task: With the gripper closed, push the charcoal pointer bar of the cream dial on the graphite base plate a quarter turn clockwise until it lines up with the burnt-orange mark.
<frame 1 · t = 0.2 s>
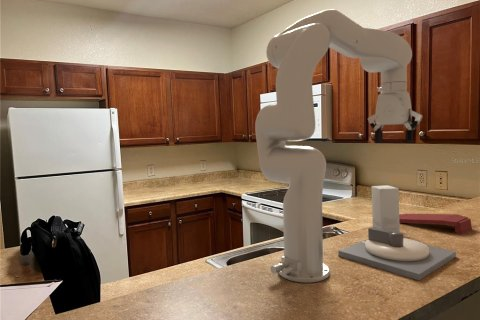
hand: (393, 142, 111), 31 cm above the counter, tool pointing down, fingers open, 9 cm apart
dial: (396, 241, 94), point 4 cm above the counter, hinge at 0.0°
dial plate: (396, 256, 95), on the counter
skincare box: (385, 232, 118), on the counter
dark red ramp: (428, 226, 125), on the counter
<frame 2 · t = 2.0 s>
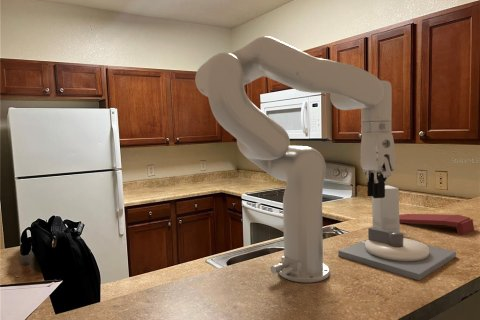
hand: (376, 196, 92), 17 cm above the counter, tool pointing down, fingers closed
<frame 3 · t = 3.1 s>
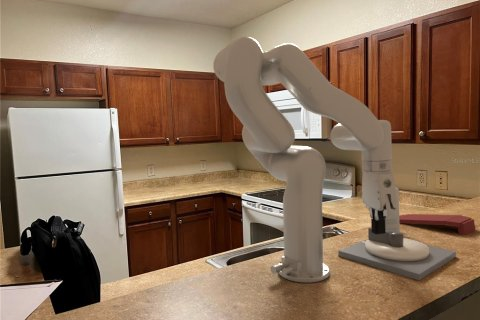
hand: (378, 232, 93), 7 cm above the counter, tool pointing down, fingers closed
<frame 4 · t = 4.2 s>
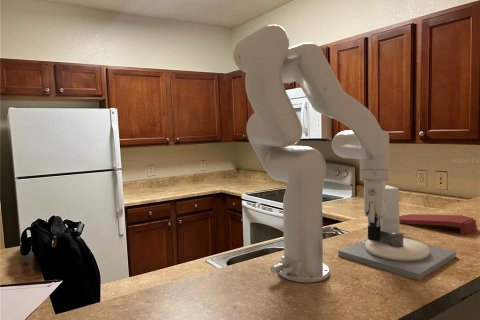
hand: (374, 239, 96), 4 cm above the counter, tool pointing down, fingers closed
dial: (396, 241, 94), point 4 cm above the counter, hinge at -1.9°, touching gripper
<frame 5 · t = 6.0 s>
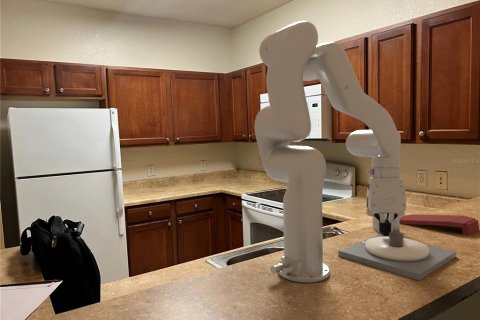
hand: (384, 235, 100), 4 cm above the counter, tool pointing down, fingers closed
dial: (396, 241, 94), point 4 cm above the counter, hinge at -62.9°, touching gripper
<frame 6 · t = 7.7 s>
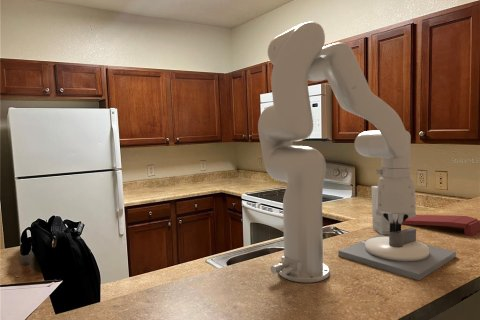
hand: (395, 235, 100), 4 cm above the counter, tool pointing down, fingers closed
dial: (396, 241, 94), point 4 cm above the counter, hinge at -97.7°
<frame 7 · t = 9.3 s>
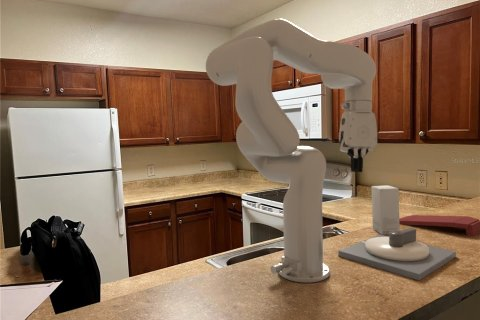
hand: (356, 171, 99), 23 cm above the counter, tool pointing down, fingers closed
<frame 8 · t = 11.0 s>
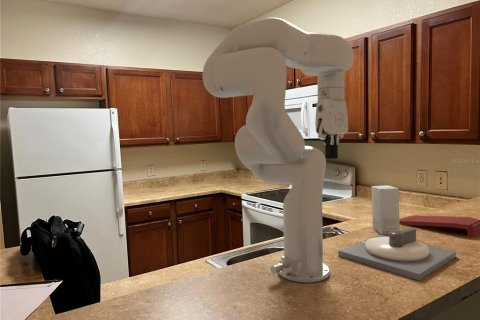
hand: (331, 158, 101), 27 cm above the counter, tool pointing down, fingers closed
at the end: dial at -98° (first picture: +0°) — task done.
